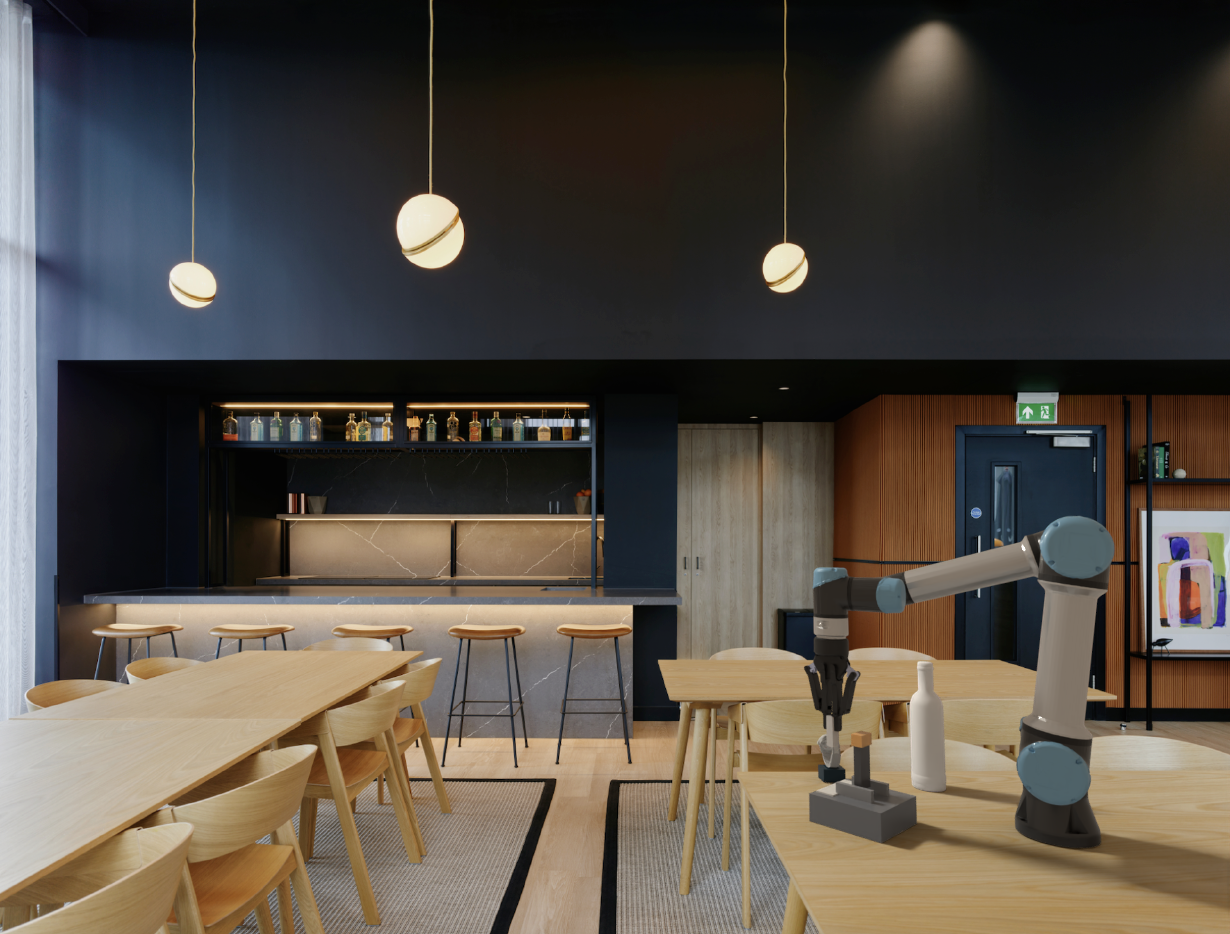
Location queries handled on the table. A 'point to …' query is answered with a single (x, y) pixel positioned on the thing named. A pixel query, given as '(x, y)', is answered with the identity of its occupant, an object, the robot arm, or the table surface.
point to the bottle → (927, 734)
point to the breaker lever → (861, 758)
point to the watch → (830, 762)
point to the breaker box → (863, 809)
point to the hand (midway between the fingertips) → (832, 745)
